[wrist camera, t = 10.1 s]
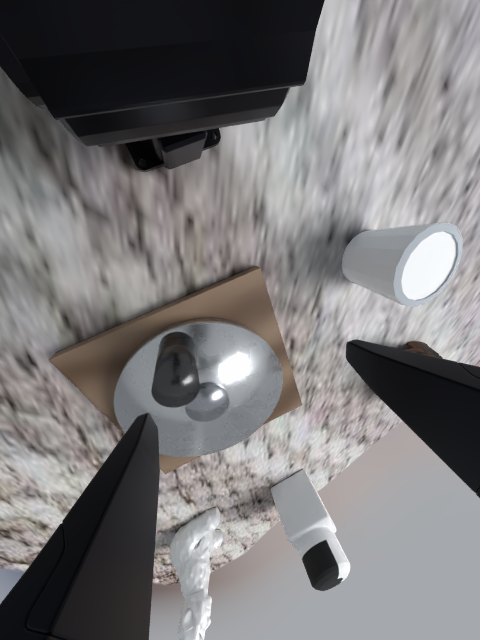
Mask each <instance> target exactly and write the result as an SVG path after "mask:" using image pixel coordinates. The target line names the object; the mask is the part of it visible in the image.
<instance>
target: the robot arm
mask: <svg viewBox="0 0 480 640" xmlns="http://www.w3.org/2000/svg"><path fill="white" fill-rule="evenodd" d="M323 4H324V0H0V66H1V68H2V69H3V70H4V71H5V73H6V74H7V75H8V77H9V78H10V79H11V80H12V82H13V83H14V84H15V85H16V86H17V87H18V88H19V90H20V91H21V92H22V93H23V94H24V95H25V96H26V97H27V98H28V99H29V100H30V101H31V102H32V103H34V104H35V105H36V106H38V107H40V108H42V109H48V110H49V111H50V113H51V114H52V116H53V117H54V118H55V119H56V120H60V121H61V122H62V124H63V125H64V126H65V128H66V129H67V130H68V131H69V132H70V133H71V134H72V135H73V136H74V137H75V138H76V139H77V140H78V141H80V142H81V143H83V144H84V145H86V146H94V145H98V146H99V147H104V146H110V145H116V144H123V143H125V144H126V146H127V148H128V150H129V152H130V154H131V156H132V158H133V160H134V162H135V164H136V166H137V167H138V169H139V170H141V171H143V172H147V171H150V170H153V169H155V168H158V167H161V166H163V165H165V167H166V168H168V169H172V168H175V167H178V166H180V165H183V164H186V163H188V162H191V161H193V160H196V159H199V158H200V157H201V154H202V151H203V150H206V149H209V148H211V147H214V146H216V145H218V143H219V141H220V138H221V136H220V131H219V128H221V127H227V126H234V125H240V124H246V123H252V122H258V121H263V120H265V119H266V118H268V117H274V116H275V115H276V113H277V112H278V110H279V109H280V107H281V106H282V104H283V102H284V100H285V99H286V97H287V94H288V92H289V90H290V87H295V86H302V85H304V83H305V81H306V77H307V72H308V67H309V62H310V57H311V52H312V47H313V42H314V37H315V32H316V28H317V25H318V21H319V18H320V14H321V11H322V7H323ZM212 133H214V134H215V135H216V140H213V139H211V136H210V134H212ZM141 159H143V160H145V161H146V165H145V166H141V165H140V164H139V162H140V160H141ZM346 359H347V361H348V362H349V363H350V365H351V366H352V367H353V368H354V369H355V371H356V372H357V373H358V374H359V375H360V377H361V378H362V379H363V380H364V382H365V383H366V384H367V385H368V386H369V387H370V388H371V389H372V390H373V392H374V393H375V394H376V395H377V396H378V397H379V398H380V399H381V400H382V401H383V402H384V403H385V404H386V405H387V406H388V407H389V408H390V409H391V410H392V411H393V412H394V413H395V414H396V415H397V416H398V417H399V418H400V419H401V420H402V421H403V422H404V423H405V424H407V425H408V427H409V428H410V429H411V430H413V432H414V433H416V434H417V436H418V437H420V438H421V439H422V440H423V441H424V442H425V443H426V444H427V445H428V446H429V447H430V448H431V449H432V450H433V451H434V452H435V453H436V454H437V455H438V456H439V457H440V458H441V459H442V460H443V461H444V462H445V463H446V464H447V465H448V466H449V467H450V468H451V469H452V470H453V471H454V472H455V473H456V474H457V475H458V476H459V477H460V478H461V479H462V480H463V481H464V482H465V483H466V484H467V485H468V486H469V487H470V488H471V489H472V490H473V491H474V492H475V493H476V495H477V496H478V497H479V498H480V367H477V366H473V365H468V364H464V363H457V362H455V361H450V360H446V359H441V358H437V357H432V356H428V355H423V354H419V353H414V352H410V351H406V350H401V349H397V348H392V347H388V346H383V345H379V344H374V343H370V342H365V341H361V340H352V341H349V342H347V344H346ZM159 475H160V463H159V438H158V428H157V425H156V423H155V422H154V420H153V418H152V416H151V415H150V414H149V413H145V414H142V415H139V416H138V417H137V418H136V419H135V420H134V422H133V423H132V425H131V426H130V427H129V429H128V430H127V432H126V433H125V434H124V436H123V437H122V439H121V440H120V441H119V443H118V444H117V446H116V447H115V448H114V450H113V451H112V453H111V454H110V455H109V457H108V458H107V460H106V461H105V462H104V464H103V465H102V467H101V468H100V469H99V471H98V472H97V474H96V475H95V476H94V478H93V479H92V480H91V482H90V483H89V485H88V486H87V487H86V489H85V490H84V492H83V493H82V494H81V496H80V497H79V499H78V500H77V501H76V503H75V504H74V506H73V507H72V508H71V510H70V511H69V513H68V514H67V515H66V517H65V518H64V520H63V523H62V524H60V525H59V527H58V528H57V529H56V531H55V532H54V534H53V535H52V536H51V538H50V539H49V541H48V542H47V543H46V545H45V546H44V547H43V549H42V550H41V551H40V553H39V554H38V555H37V557H36V558H35V560H34V561H33V562H32V564H31V565H30V566H29V568H28V569H27V570H26V572H25V573H24V574H23V575H22V577H21V578H20V579H19V581H18V582H17V583H16V585H15V586H14V587H13V588H12V590H11V591H10V592H9V594H8V595H7V596H6V598H5V599H4V600H3V601H2V603H1V604H0V640H149V626H150V611H151V596H152V581H153V566H154V551H155V536H156V521H157V506H158V491H159Z"/></svg>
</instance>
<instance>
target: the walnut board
mask: <svg viewBox="0 0 480 640" xmlns="http://www.w3.org/2000/svg"><path fill="white" fill-rule="evenodd" d="M201 318H219V319H225V320H231V321H234V322H237V323H240V324H243V325H245V326H247V327H249V328H251V329H252V330H254V331H255V332H257V333H258V334H259V335H260V336H261V337H263V339H264V340H265V341H266V342H267V343H268V344H269V346H270V347H271V348H272V350H273V351H274V353H275V354H276V356H277V358H278V360H279V362H280V365H281V369H282V374H283V384H282V391H281V395H280V398H279V400H278V403H277V405H276V407H275V409H274V411H273V412H272V414H271V415H270V416H269V418H268V419H267V420H266V421H265V423H267V422H269V421H271V420H273V419H275V418H277V417H279V416H281V415H283V414H285V413H287V412H289V411H291V410H293V409H295V408H297V407H299V406H301V405H302V403H301V399H300V396H299V393H298V389H297V386H296V383H295V380H294V376H293V373H292V370H291V367H290V363H289V360H288V357H287V354H286V350H285V347H284V344H283V340H282V337H281V334H280V331H279V327H278V324H277V321H276V318H275V314H274V311H273V308H272V305H271V301H270V298H269V295H268V292H267V288H266V285H265V282H264V278H263V275H262V272H261V269H260V268H259V267H257V266H255V267H252V268H250V269H248V270H245V271H243V272H241V273H238V274H236V275H234V276H232V277H229V278H227V279H225V280H222V281H220V282H218V283H215V284H213V285H211V286H208V287H206V288H204V289H202V290H199V291H197V292H195V293H192V294H190V295H188V296H185V297H183V298H181V299H178V300H176V301H174V302H172V303H169V304H167V305H165V306H162V307H160V308H158V309H155V310H153V311H151V312H148V313H146V314H144V315H142V316H139V317H137V318H135V319H132V320H130V321H128V322H125V323H123V324H121V325H118V326H116V327H114V328H112V329H109V330H107V331H105V332H102V333H100V334H98V335H95V336H93V337H91V338H88V339H86V340H84V341H82V342H79V343H77V344H75V345H72V346H70V347H68V348H65V349H63V350H61V351H58V352H56V353H55V354H54V355H53V356H52V357H51V358H50V359H49V361H50V362H51V363H52V364H53V365H54V366H55V367H56V368H57V369H58V370H59V371H60V372H61V373H62V374H64V375H65V376H66V377H67V378H68V379H69V380H70V381H71V382H72V383H73V384H74V385H75V386H76V387H77V388H78V389H79V390H80V391H81V392H82V393H83V394H84V395H85V396H86V397H87V398H88V399H89V400H90V401H91V402H92V403H93V404H94V405H95V406H96V407H97V408H98V409H99V410H100V411H101V412H102V413H104V414H105V415H106V416H107V417H108V418H109V419H110V420H111V421H112V422H113V423H114V424H115V425H116V426H117V427H118V428H119V429H120V430H121V431H122V432H123V433H124V434H125V432H124V431H123V430H122V428H121V426H120V425H119V423H118V421H117V418H116V415H115V410H114V393H115V389H116V385H117V382H118V379H119V377H120V375H121V372H122V370H123V368H124V366H125V363H126V362H127V360H128V359H129V357H130V356H131V354H132V353H133V352H134V351H135V350H136V349H137V348H138V346H139V345H141V344H142V343H143V342H144V341H145V340H147V339H148V338H149V337H151V336H152V335H154V334H155V333H157V332H158V331H160V330H162V329H164V328H167V327H169V326H171V325H174V324H177V323H180V322H183V321H188V320H192V319H201ZM265 423H264V424H265ZM198 457H200V456H194V457H175V456H167V455H162V454H159V463H160V469H161V470H162V471H163V472H164V473H165V474H166V473H168V472H170V471H172V470H174V469H176V468H178V467H180V466H182V465H184V464H186V463H188V462H190V461H192V460H194V459H196V458H198Z"/></svg>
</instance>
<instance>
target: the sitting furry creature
mask: <svg viewBox="0 0 480 640" xmlns="http://www.w3.org/2000/svg"><path fill="white" fill-rule="evenodd" d="M220 521H221V517H220V512H219V509H218V508H217V507H215V508H212V509H209V510H206V512H204V513H202V514H201V515H199V516H198V517H196V518H194V519H193V520H191V521H190V522H189V523H187V524H185V525H184V526H182V527H180V528H179V530H178V531H177V533H176V534H175V536H174V537H173V538H172V543H171V545H170V552H169V555H170V560H171V563H172V565H173V567H175V571H176V572H177V573H178V577H179V579H180V583H181V593H182V594H183V595H184V599H186V601H185V603H184V605H183V609H182V610H181V618H180V622H179V628H178V637H179V640H204V638H205V637H204V636H205V631H206V629H207V628H208V627H209V625H210V623H211V619H210V618H209V617H210V615H211V612H210V611H211V603H212V598H211V596H207V595H208V582H209V575H210V572H211V570H210V565H209V562H210V561H209V558H210V552H213V551H215V550H216V549H217V548H218V547H219V546H221V544H222V541H223V535H222V531H221V530H218V529H217V530H215V529H216V527H217V526H218V524H219V523H220Z"/></svg>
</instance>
